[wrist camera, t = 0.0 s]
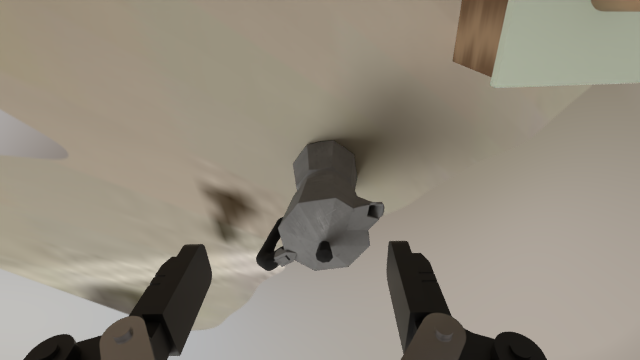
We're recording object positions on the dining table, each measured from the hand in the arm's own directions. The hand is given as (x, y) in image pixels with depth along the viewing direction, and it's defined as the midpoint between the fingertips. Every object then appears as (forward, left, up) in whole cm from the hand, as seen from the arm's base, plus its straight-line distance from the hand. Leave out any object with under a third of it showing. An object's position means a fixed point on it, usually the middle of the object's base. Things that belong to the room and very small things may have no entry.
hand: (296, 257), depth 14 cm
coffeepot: (+11, 0, -30) cm, 31 cm away
